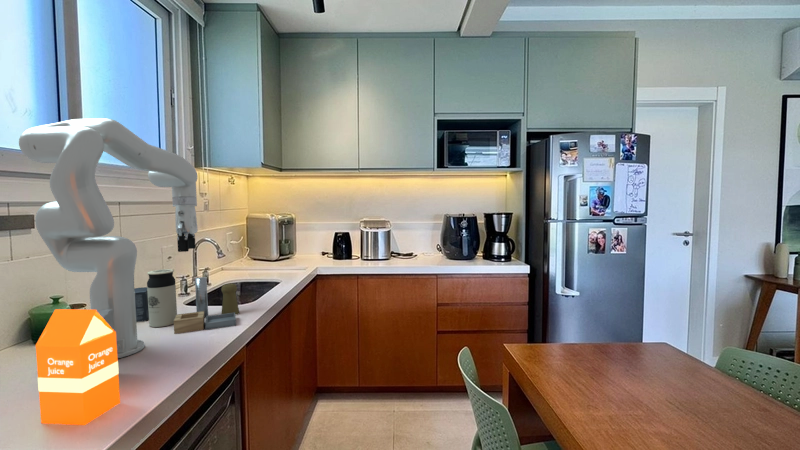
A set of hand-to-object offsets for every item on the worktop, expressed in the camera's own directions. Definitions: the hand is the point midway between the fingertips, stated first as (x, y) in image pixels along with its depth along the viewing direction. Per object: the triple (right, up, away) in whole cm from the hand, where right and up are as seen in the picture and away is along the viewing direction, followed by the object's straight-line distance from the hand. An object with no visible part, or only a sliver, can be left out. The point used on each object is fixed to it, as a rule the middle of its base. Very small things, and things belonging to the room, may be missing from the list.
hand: (187, 250), depth 132 cm
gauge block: (+8, -24, -13) cm, 29 cm away
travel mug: (-3, -25, -8) cm, 26 cm away
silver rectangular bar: (+6, -24, -1) cm, 25 cm away
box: (-15, -25, -2) cm, 29 cm away
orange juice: (+16, -27, -62) cm, 69 cm away
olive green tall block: (+14, -24, +3) cm, 28 cm away
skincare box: (+8, -27, -50) cm, 57 cm away
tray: (+17, -24, -9) cm, 31 cm away
